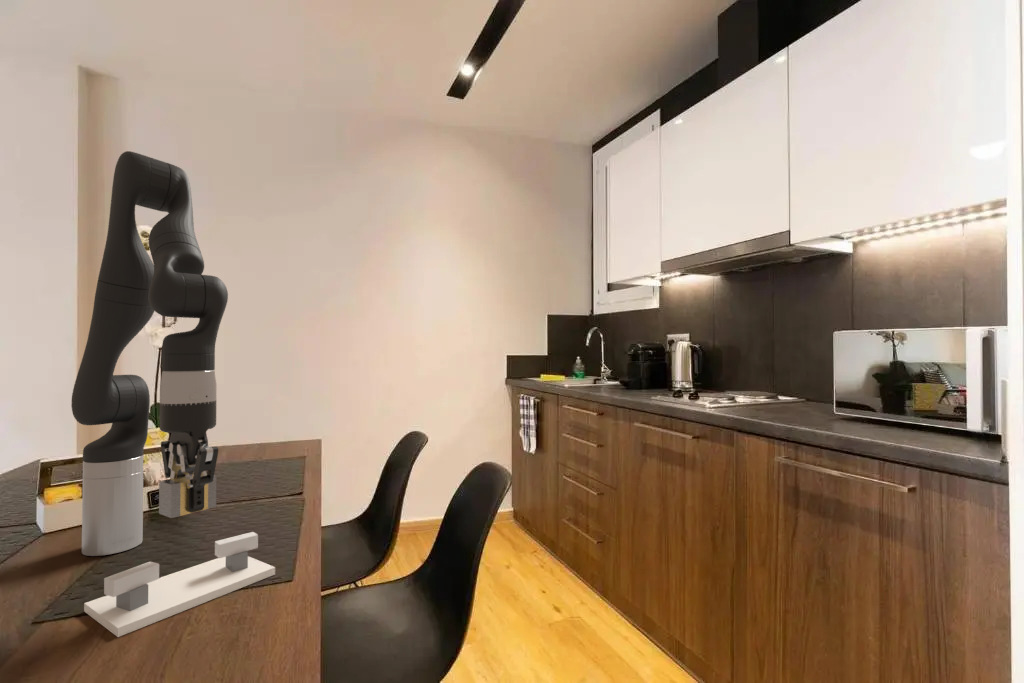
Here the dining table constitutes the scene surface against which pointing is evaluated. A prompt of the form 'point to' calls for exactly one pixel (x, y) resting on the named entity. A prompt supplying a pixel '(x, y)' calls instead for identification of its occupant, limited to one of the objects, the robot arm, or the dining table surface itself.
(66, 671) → the dining table surface
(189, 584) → the stand
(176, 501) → the block
